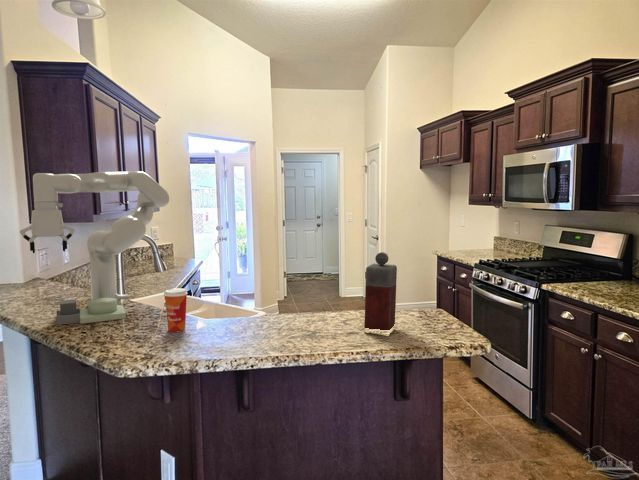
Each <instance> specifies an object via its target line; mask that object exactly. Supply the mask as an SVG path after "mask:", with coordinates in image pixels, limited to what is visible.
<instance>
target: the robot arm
mask: <svg viewBox="0 0 639 480" xmlns="http://www.w3.org/2000/svg"><path fill="white" fill-rule="evenodd" d="M32 185H33V186H32V189H33V203H34V206H33V207H34V210H32V211H31V219H30V220H31V223H30V224H31V225H29V226H27V227H25V228H23V229H20V231H19V233H20V235H21V236H22V237H23V239H25V240H26V241H27V242H29V250H30V252H32V254H35V253H36V248H35V242H34V241H35V240H36V238H49V237H50V238H51V237H53V238H54V237H60V238H61V239H62V252H66V250H67V249H68V240H69V239H70V238H71V237H73V234H74V232H75V231H76V230H75V229H74V228H73V227H71V226H68V225H65V224H64V220H63V214H62V210H61V209H59V208H64V204H63V203H60V202H59V194H74V193H101V194H102V193H117V192H118V193H120V192H122V193H124V192H139V193H138V195H137V204H136V207H135V208H134V209H133V210H131V211H130V212H128V213H127V214H125V215H123V216H122V217H120V218H118V219H117V220H116V221H114V222H113V223H112V225H111V229H110V230H111V231H109V230H96V231H93V232H92V233H90V234H89V236H88V238H87V240H86V241H87V242H86V247H87V252H88V255H89V267H90V268H89V269H90V270H89V272H90V294H91V297H90V298H91V299H90V300H93V299H98V298H115V299H117V305H122V300H129V297H130V295H129V294H123V293H122V294H118V292H117V265H116V263H117V262H116V259H115V256H116V255H119V254H121V253H124V252H125V251H126V250H128V249H130V247H132V246H133V245H135V244H136V243H137V242H140V241H141V240H142V239H143V238H144V236H145V234H146V231H147V227H146V226H147V225H148V224H149V223H151V221H152V220H153V218H154V211H155V208H164V207H165V206H167V205H168V204H169V202H170V195H169V192H168V191H167V189H165V188H164V187H163V186H162V185H161V184H159V183H158V182H157V181H156V180H155V179H154V178H153V177H152V176H150V175H149V174H148V173H146V172H144V171H142V170H141V171H140V170H139V171H138V170H137V171H136V170H134V171H133V170H132V171H97V172H91V173H90V172H89V173H57V174H54V173H46V172H43V173H42V172H36V173H34V174H33V175H32ZM30 230H31V235H32V236H31V237H30V236H28V235H27V232H29V231H30ZM65 230H67V231H69V232H68V234H66V236H65V234H64V233H65Z"/></svg>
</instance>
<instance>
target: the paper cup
mask: <svg viewBox="0 0 639 480" xmlns="http://www.w3.org/2000/svg"><path fill="white" fill-rule="evenodd" d="M188 294H189V293H188V291H187V289H186V288H180V287H178V288H177V287H176V288H175V287H174V288H169V289H166V290H165V293H164V295H163V296H165V310H166V311H165V312H166V321H167V323H166V325H167V330H168V332H169V331H170V333H178V332H177V331H181V332H183V331H182V330H184V329H185V330H186V322H187V321H186V319H187V297H188ZM185 330H184V331H185Z"/></svg>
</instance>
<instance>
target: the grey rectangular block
mask: <svg viewBox="0 0 639 480" xmlns="http://www.w3.org/2000/svg"><path fill="white" fill-rule="evenodd" d="M59 307H60V308H59V310H60V313H61V315H69V314H77V308H78V307H77V299H75V298H74V299H64V300H63V299H62V300H60V303H59Z"/></svg>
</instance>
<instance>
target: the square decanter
mask: <svg viewBox="0 0 639 480" xmlns="http://www.w3.org/2000/svg"><path fill="white" fill-rule="evenodd" d="M374 259H375V262H376V263H375V262H374V263H371V264H370V265H368V266H367V267H366V268H365V290H364V291H365V292H364V297H365V298H364V328H369V329H380V330H390V329H391V328H392V327H393V326H394V324H395V325H396V309H397V308H396V305H397V304H396V303H397V278H398V277H397V275H398V274H397V272H398V268H397V265H395V264H389V263H388V262H389V256H388V254H387V253H386V252H384V251H383V252H382V251H381V252H379V253H377V254H376V255H375V258H374ZM387 263H388V264H387Z"/></svg>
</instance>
